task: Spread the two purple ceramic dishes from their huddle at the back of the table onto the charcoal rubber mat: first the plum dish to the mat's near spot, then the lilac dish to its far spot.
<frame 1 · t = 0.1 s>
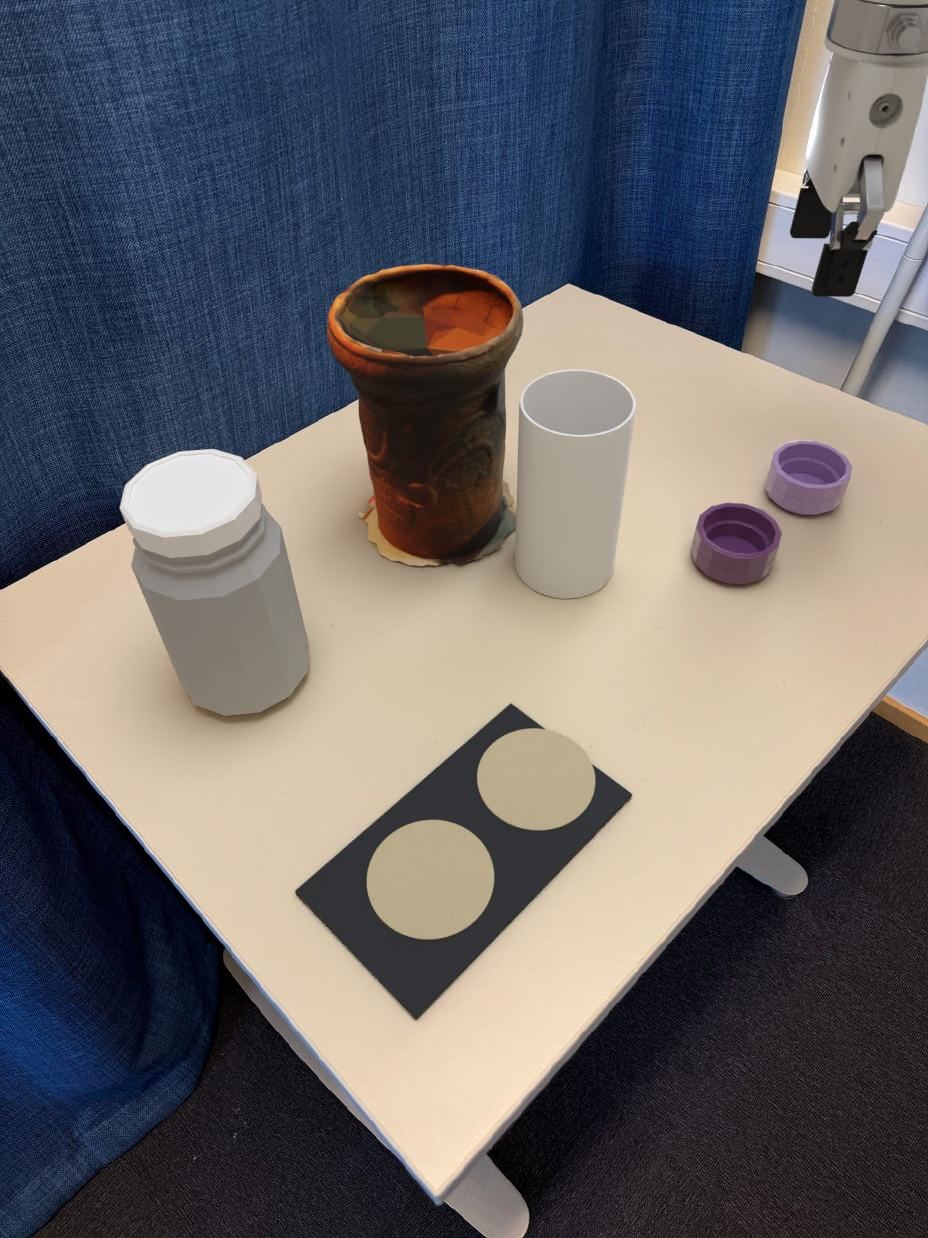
hand: (819, 264, 74), 17 cm above the table, tool pointing down, fingers open, 9 cm apart
vessel: (437, 516, 80), on the table
cup: (564, 564, 76), on the table
mat: (469, 843, 59), on the table
jar: (249, 674, 69), on the table
lilac dish: (801, 493, 81), on the table
plum dish: (730, 559, 75), on the table
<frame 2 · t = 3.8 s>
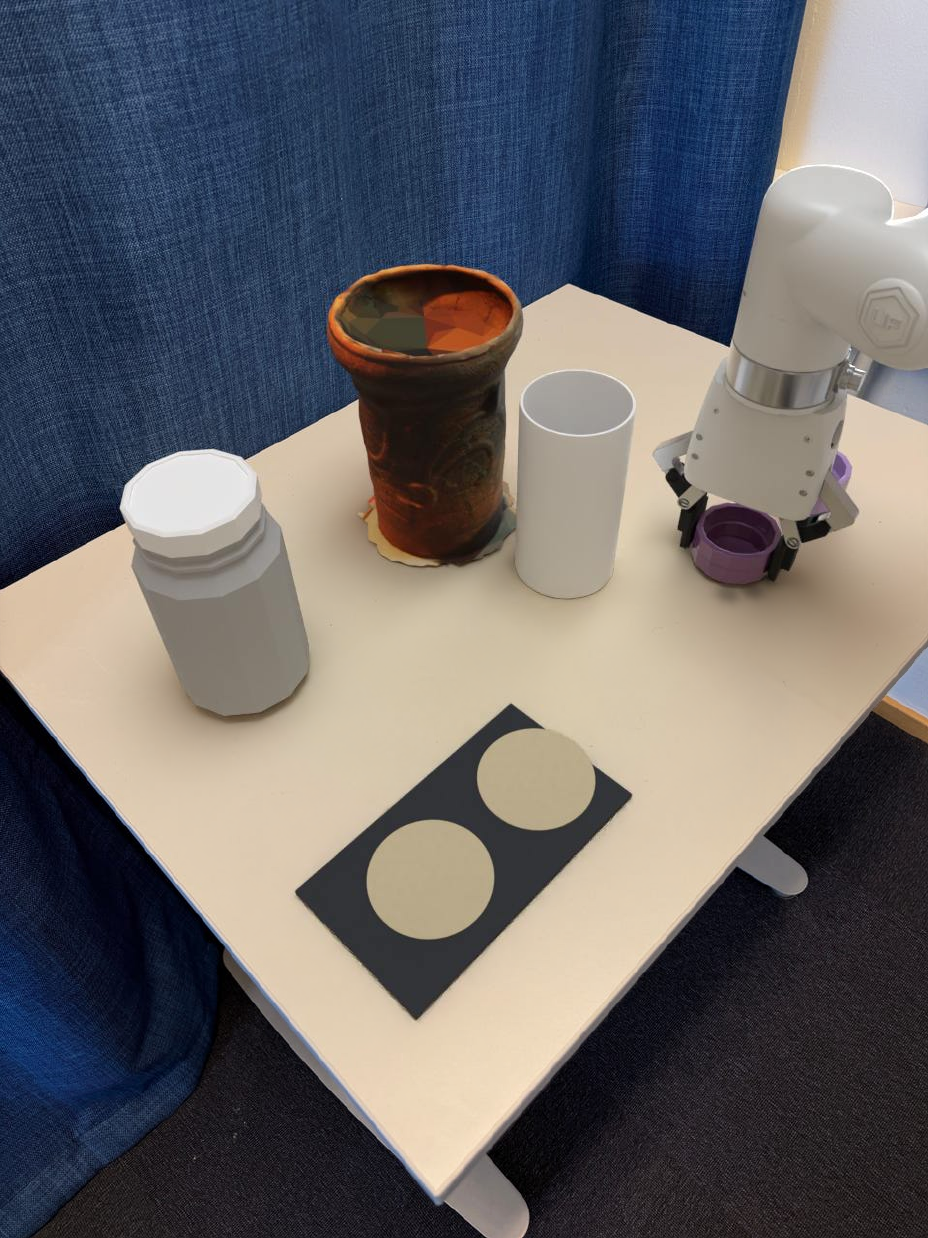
hand: (732, 553, 75), 1 cm above the table, tool pointing down, fingers closed on plum dish, 6 cm apart
plum dish: (730, 559, 75), on the table, touching gripper
everything else where it was.
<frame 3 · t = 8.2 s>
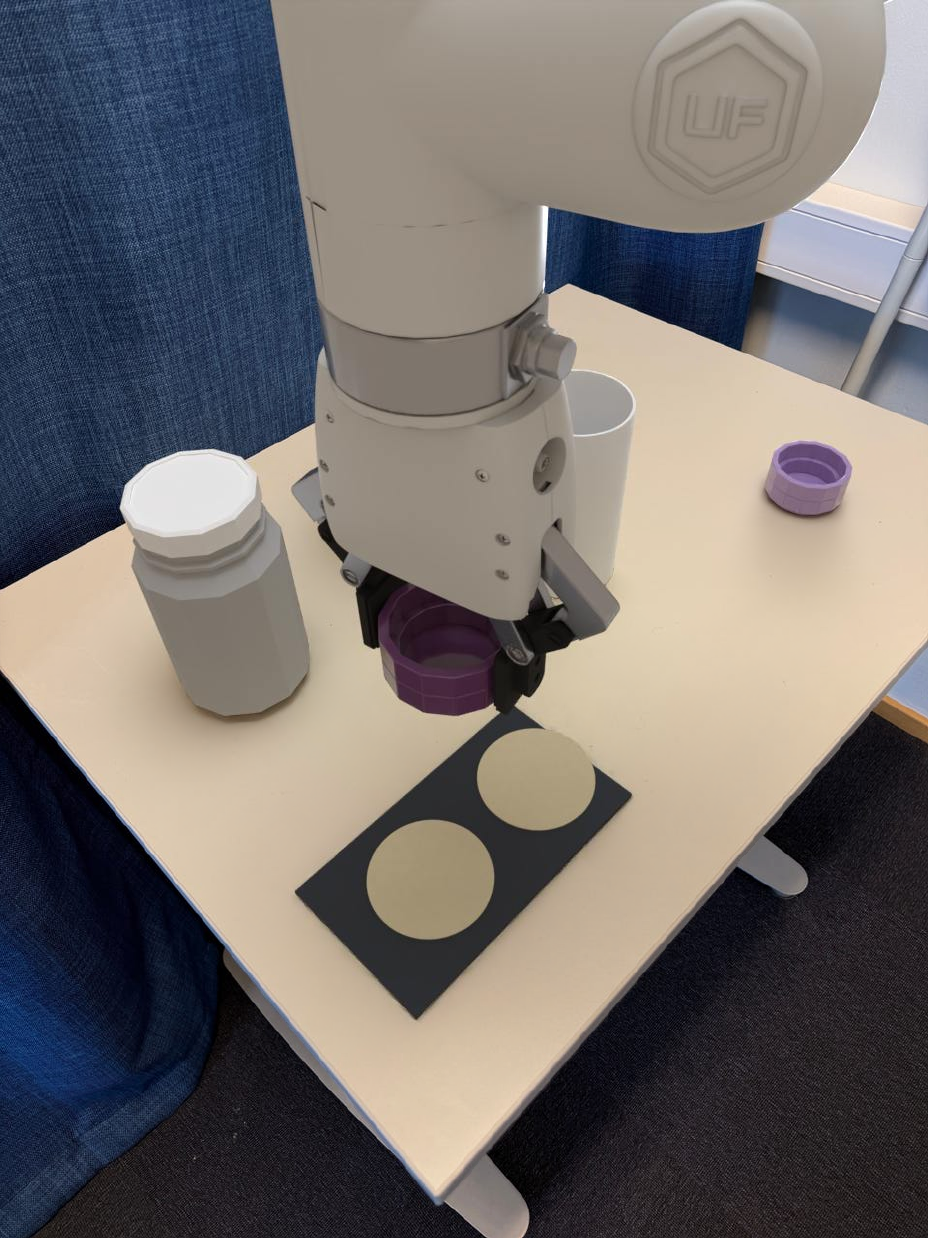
hand: (450, 658, 44), 19 cm above the table, tool pointing down, fingers closed on plum dish, 6 cm apart
plum dish: (451, 667, 45), point 19 cm above the table, touching gripper
everything else where it was.
when the fingers open (1 cm above the table, at t = 12.9 s): plum dish stays where it is, resting on mat.
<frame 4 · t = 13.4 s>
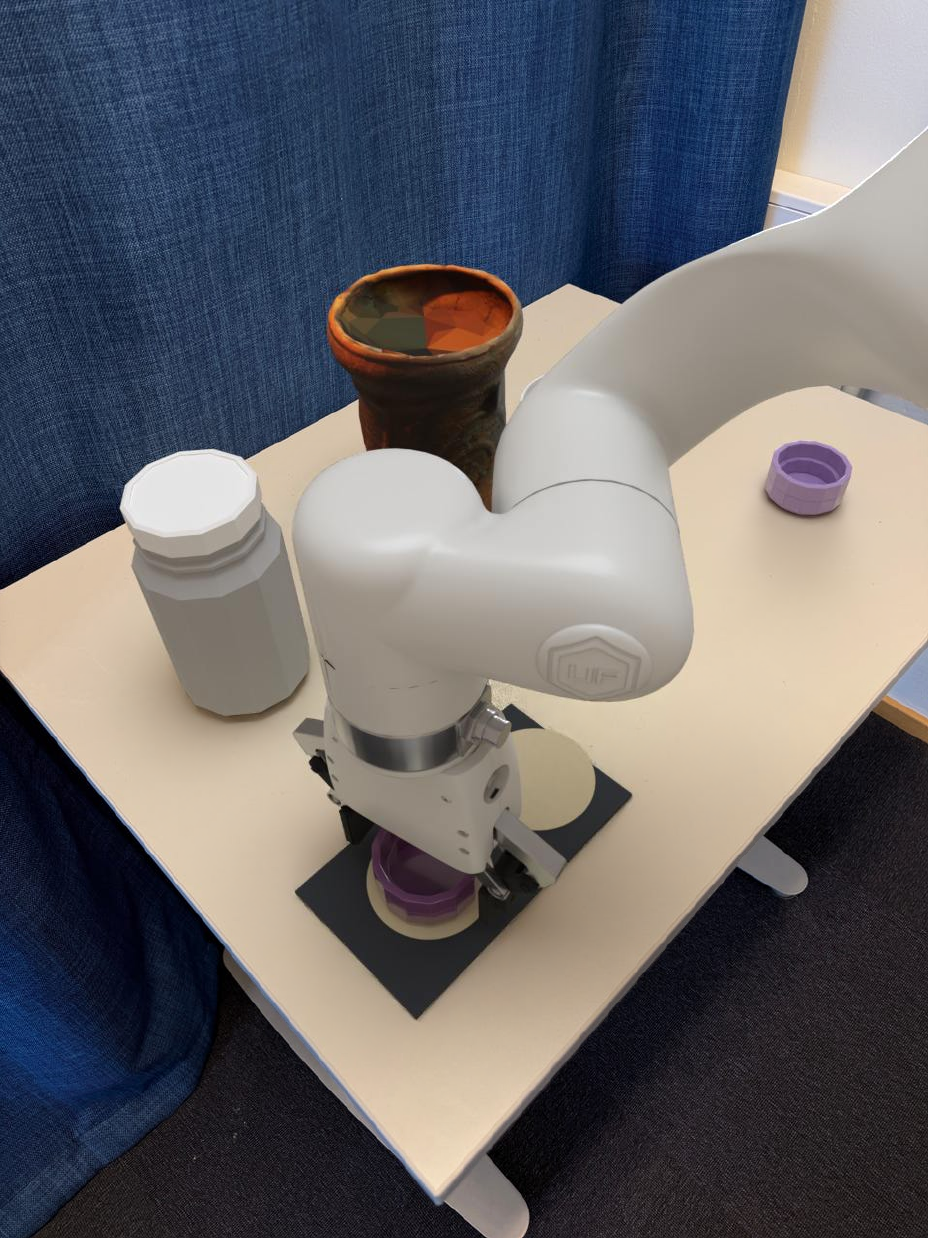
hand: (429, 863, 55), 2 cm above the table, tool pointing down, fingers open, 9 cm apart
plum dish: (429, 876, 57), resting on mat
everything else where it was.
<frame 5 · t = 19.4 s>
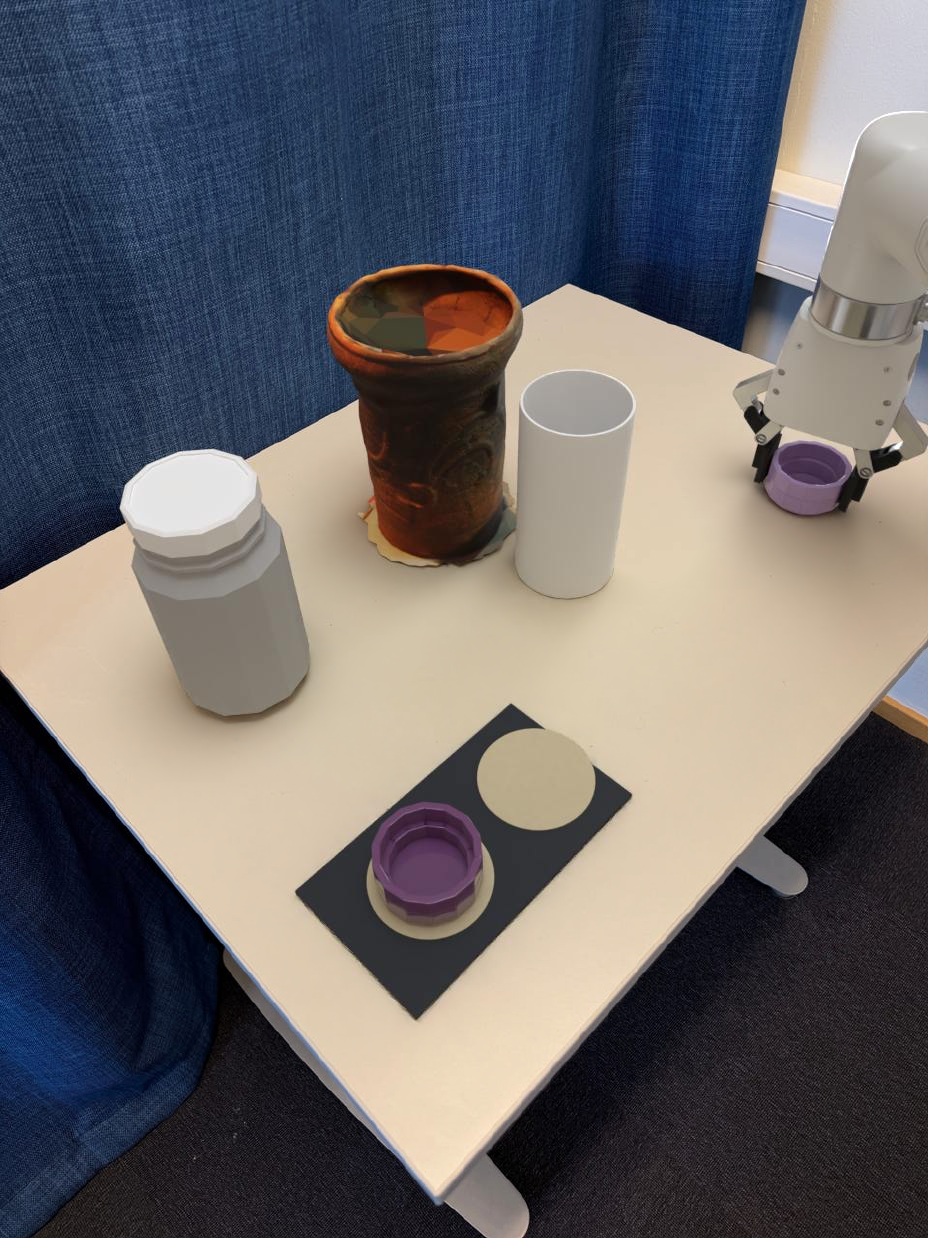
hand: (804, 487, 80), 1 cm above the table, tool pointing down, fingers closed on lilac dish, 6 cm apart
lilac dish: (801, 493, 81), on the table, touching gripper
everything else where it was.
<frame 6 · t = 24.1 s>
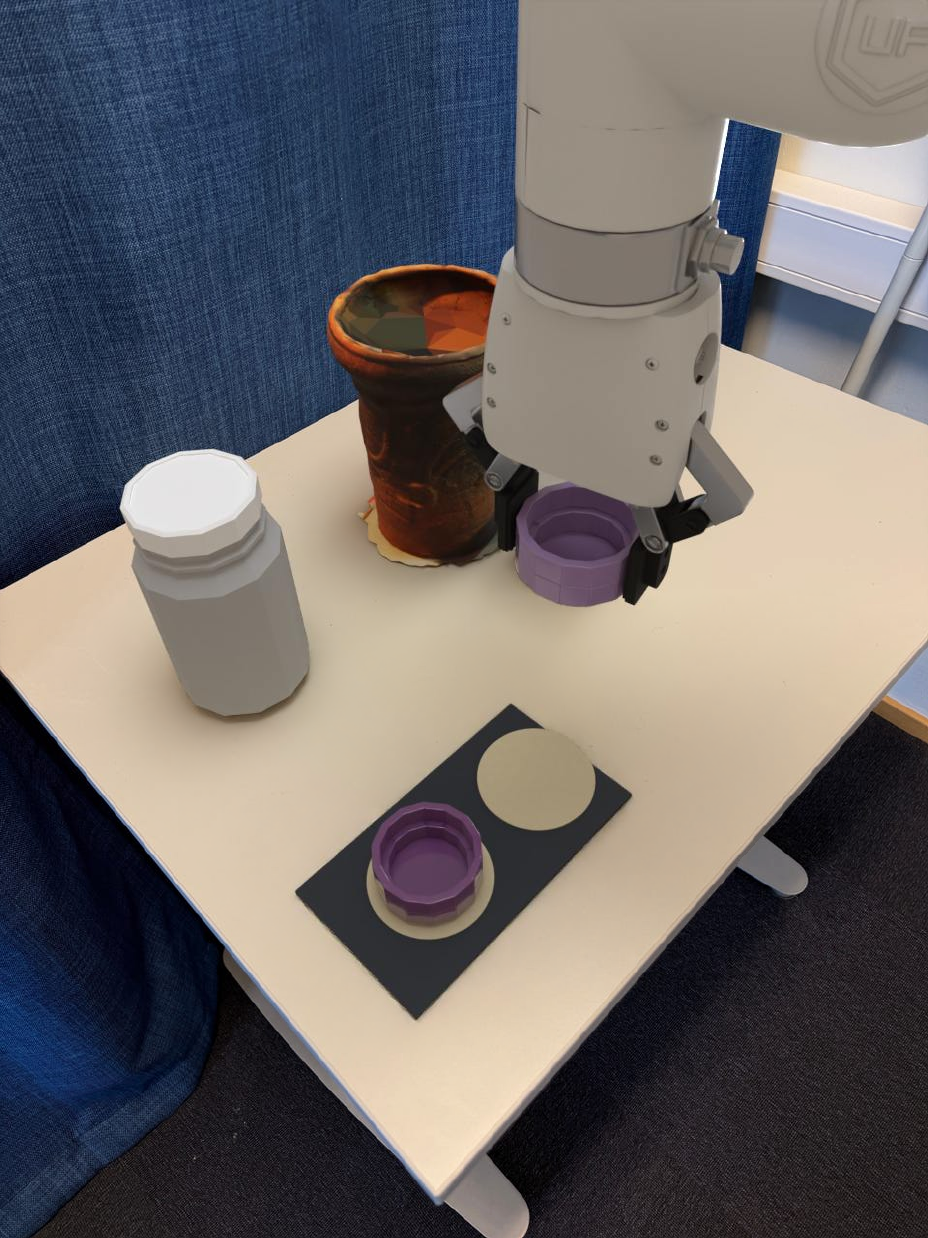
hand: (577, 559, 49), 19 cm above the table, tool pointing down, fingers closed on lilac dish, 6 cm apart
lilac dish: (576, 568, 49), point 18 cm above the table, touching gripper
everything else where it was.
when the fingers open (1 cm above the table, at t = 28.7 s): lilac dish stays where it is, resting on mat.
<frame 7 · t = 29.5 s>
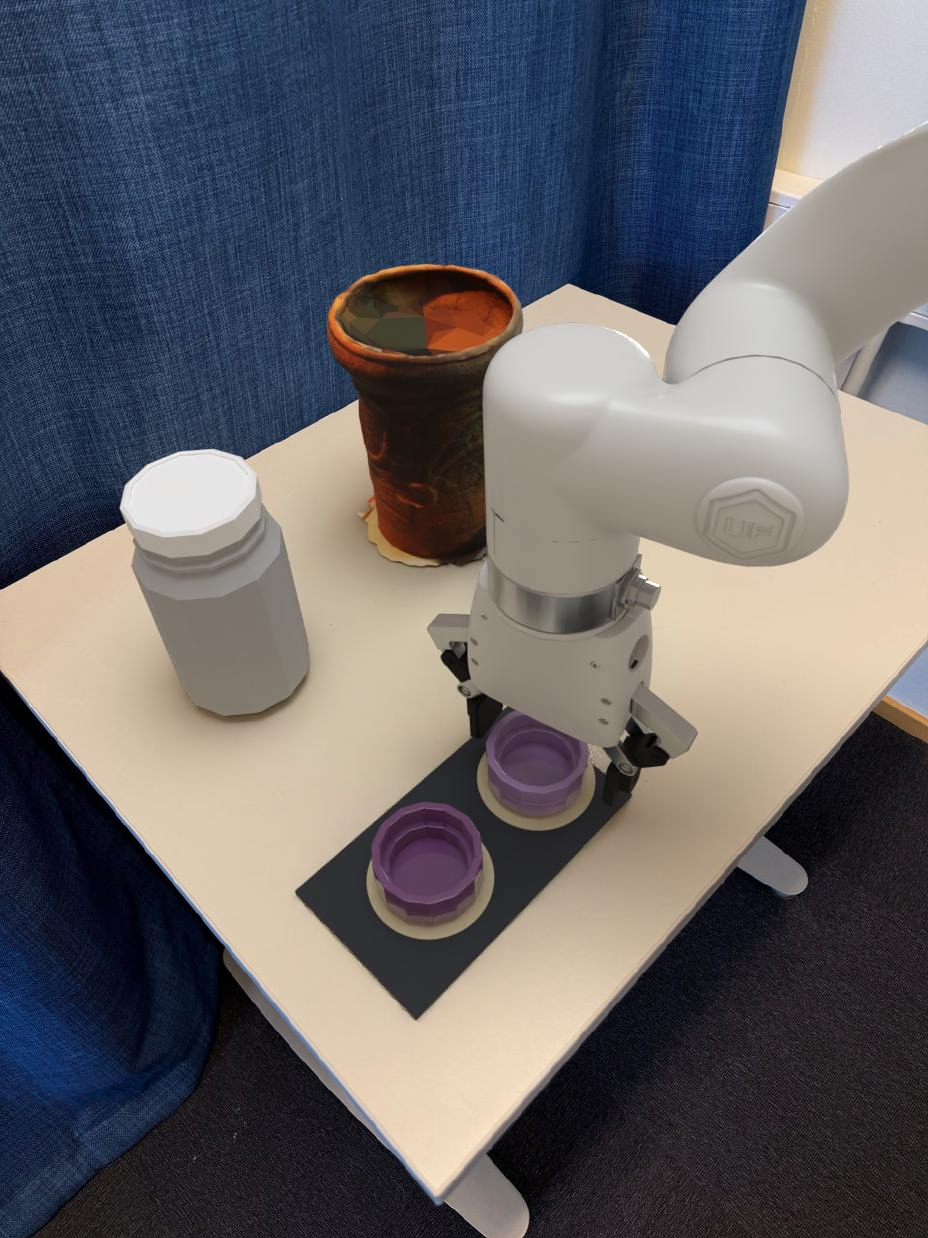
hand: (550, 754, 59), 4 cm above the table, tool pointing down, fingers open, 9 cm apart
lilac dish: (535, 776, 61), resting on mat
everything else where it was.
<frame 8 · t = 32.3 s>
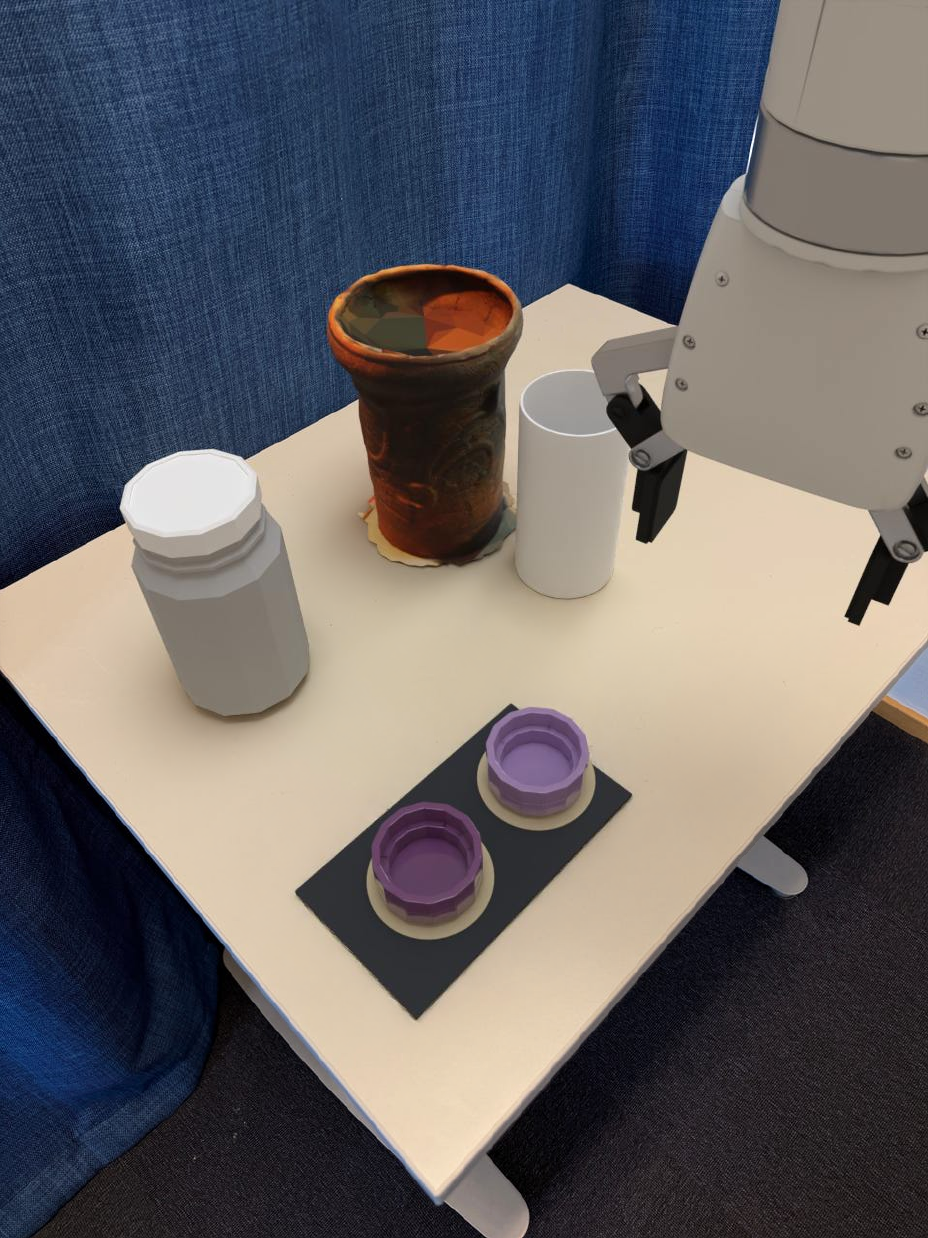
hand: (753, 562, 41), 24 cm above the table, tool pointing down, fingers open, 9 cm apart
nothing on the table moved.
at the end: plum dish 0.4 cm from the target spot on the mat, point 0.5 cm above the mat's base; lilac dish 0.1 cm from the target spot on the mat, point 0.5 cm above the mat's base; lilac dish tilted 0° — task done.
